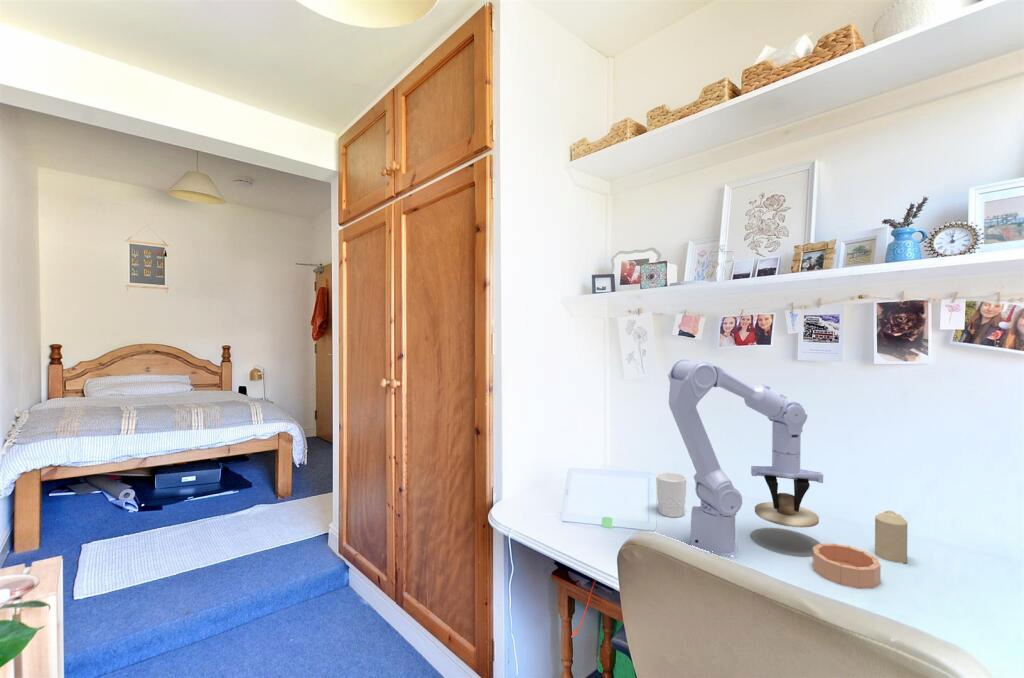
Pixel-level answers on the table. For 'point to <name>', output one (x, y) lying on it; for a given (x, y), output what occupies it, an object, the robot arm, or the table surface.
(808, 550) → the mat
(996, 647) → the table surface
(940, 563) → the table surface
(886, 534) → the candle
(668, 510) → the white cup
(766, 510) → the lid
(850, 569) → the bowl
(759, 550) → the table surface
